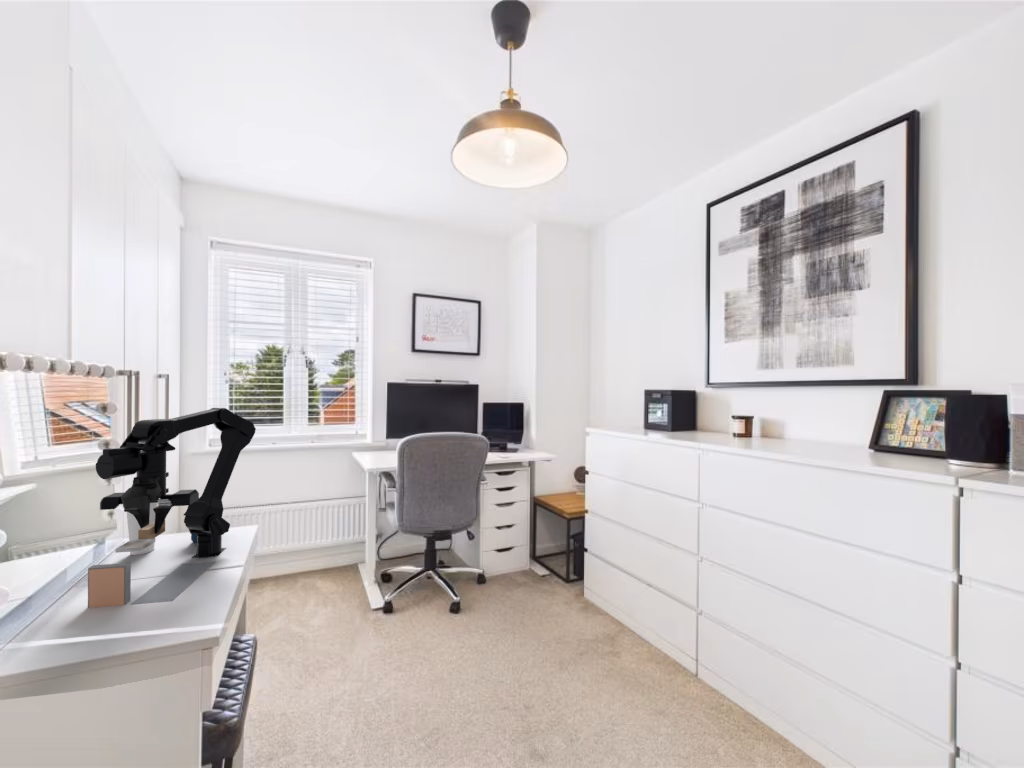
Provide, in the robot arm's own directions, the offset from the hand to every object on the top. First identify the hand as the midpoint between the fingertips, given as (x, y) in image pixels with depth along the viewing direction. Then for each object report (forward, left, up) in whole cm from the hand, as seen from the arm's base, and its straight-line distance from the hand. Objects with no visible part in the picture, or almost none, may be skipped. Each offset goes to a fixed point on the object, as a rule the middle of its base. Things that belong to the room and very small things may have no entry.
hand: (151, 533), depth 111 cm
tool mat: (+4, +8, -11) cm, 14 cm away
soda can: (-26, +1, -11) cm, 28 cm away
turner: (+2, 0, -1) cm, 2 cm away
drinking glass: (-19, -12, -11) cm, 25 cm away
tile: (+14, -1, -11) cm, 18 cm away
